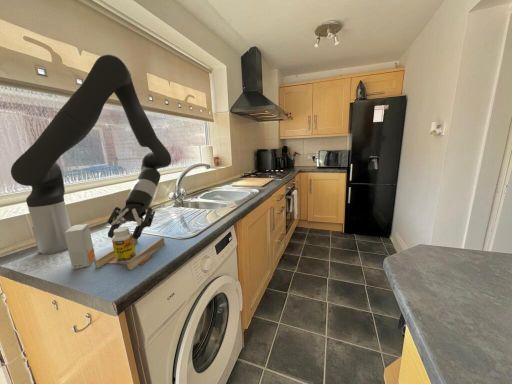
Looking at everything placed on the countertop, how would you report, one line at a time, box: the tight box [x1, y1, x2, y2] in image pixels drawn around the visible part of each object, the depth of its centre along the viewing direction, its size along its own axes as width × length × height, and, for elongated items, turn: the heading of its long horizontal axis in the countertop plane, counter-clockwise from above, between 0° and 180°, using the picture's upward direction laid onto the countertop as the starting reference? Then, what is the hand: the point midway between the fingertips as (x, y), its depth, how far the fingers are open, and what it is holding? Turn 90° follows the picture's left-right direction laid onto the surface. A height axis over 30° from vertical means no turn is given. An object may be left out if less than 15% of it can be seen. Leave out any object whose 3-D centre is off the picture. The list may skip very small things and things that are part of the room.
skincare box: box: [64, 223, 96, 270], centre depth 64 cm, size 6×4×12 cm
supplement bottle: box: [111, 226, 137, 263], centre depth 66 cm, size 6×6×10 cm
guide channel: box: [93, 236, 165, 271], centre depth 70 cm, size 15×17×2 cm
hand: (122, 238), depth 65 cm, fingers open, 8 cm apart
